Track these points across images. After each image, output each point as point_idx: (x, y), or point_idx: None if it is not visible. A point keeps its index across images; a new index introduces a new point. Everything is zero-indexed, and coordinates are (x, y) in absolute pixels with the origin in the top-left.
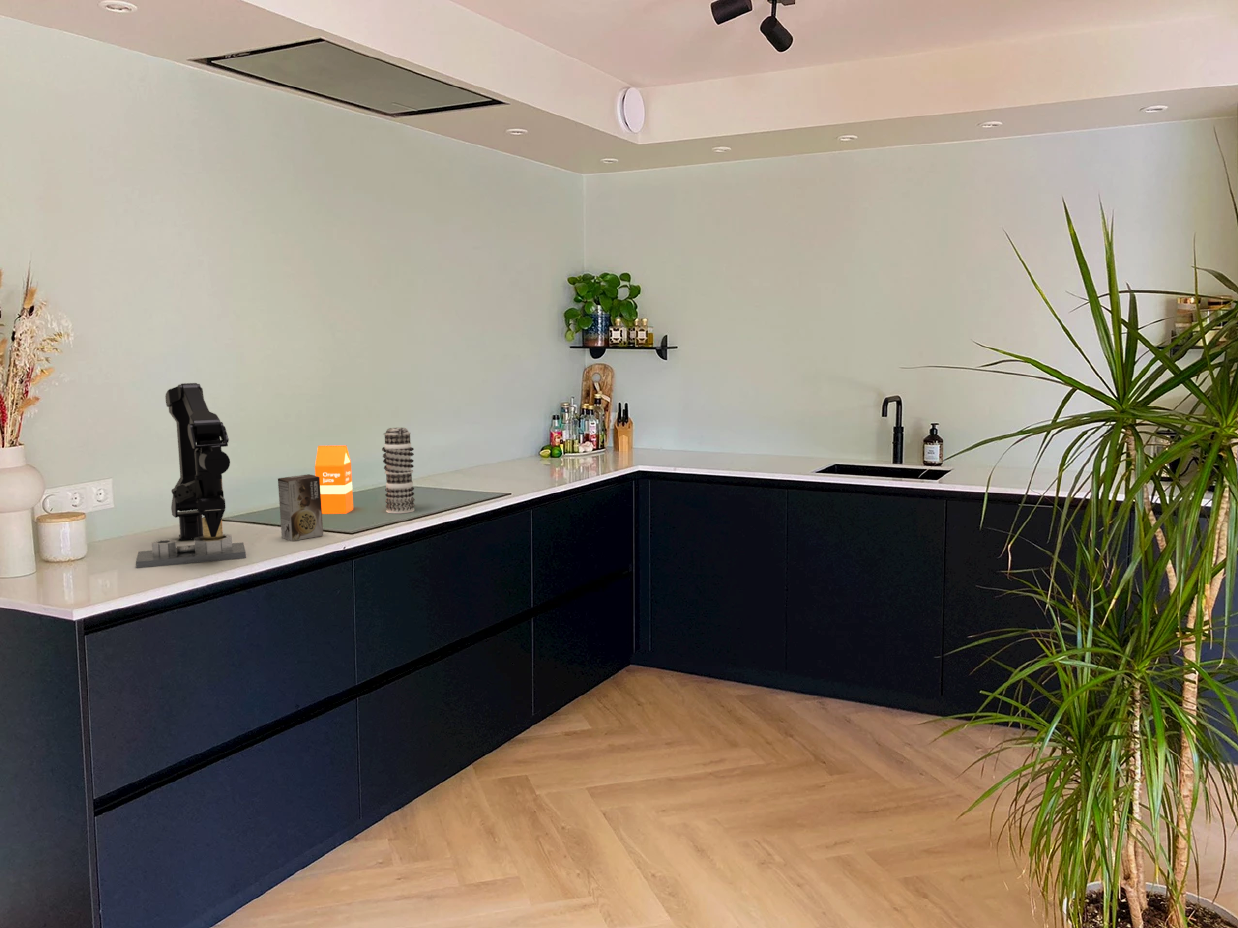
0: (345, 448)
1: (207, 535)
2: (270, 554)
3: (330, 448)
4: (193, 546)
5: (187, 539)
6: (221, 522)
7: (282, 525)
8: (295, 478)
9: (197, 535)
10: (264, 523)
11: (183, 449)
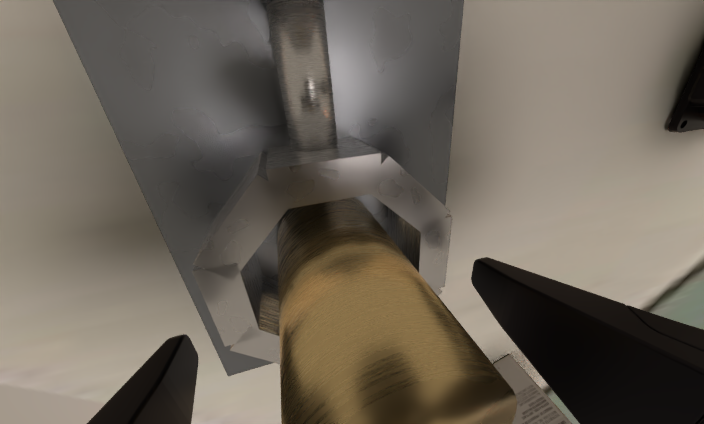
0: None
1: (285, 282)
2: (280, 398)
3: None
4: (297, 141)
5: (701, 53)
6: None
7: (533, 399)
8: None
9: (698, 101)
10: (701, 269)
11: None
